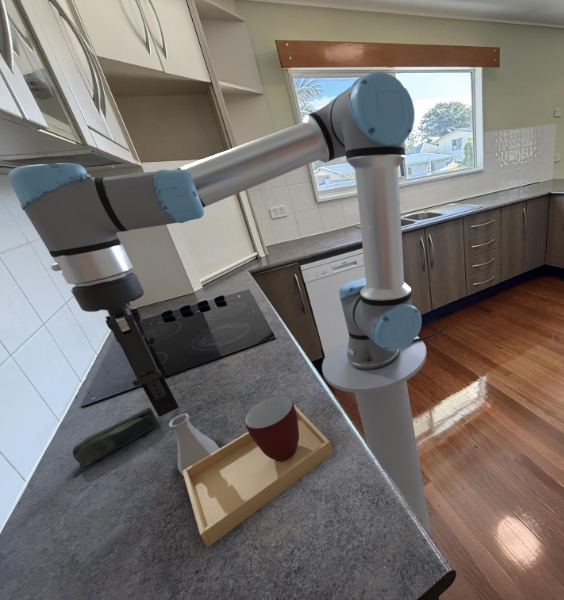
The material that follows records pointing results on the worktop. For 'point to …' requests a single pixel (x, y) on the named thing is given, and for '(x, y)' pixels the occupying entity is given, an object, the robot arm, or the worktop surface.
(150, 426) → the dark green pencil case
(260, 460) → the tray
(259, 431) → the mug
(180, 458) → the flask
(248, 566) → the worktop surface
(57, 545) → the worktop surface
